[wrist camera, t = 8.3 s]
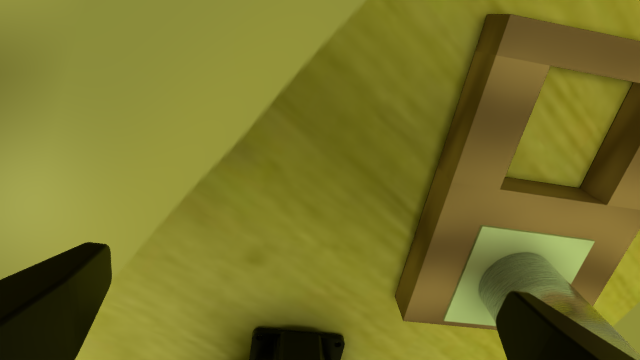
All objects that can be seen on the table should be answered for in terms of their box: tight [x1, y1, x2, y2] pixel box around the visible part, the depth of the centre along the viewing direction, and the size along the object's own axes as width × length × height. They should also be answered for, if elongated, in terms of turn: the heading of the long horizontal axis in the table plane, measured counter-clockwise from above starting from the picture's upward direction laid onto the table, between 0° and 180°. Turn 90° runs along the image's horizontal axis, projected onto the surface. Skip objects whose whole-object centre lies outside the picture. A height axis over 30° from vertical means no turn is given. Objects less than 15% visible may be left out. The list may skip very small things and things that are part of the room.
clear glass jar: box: [478, 253, 640, 360], centre depth 18 cm, size 4×4×9 cm
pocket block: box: [395, 14, 640, 330], centre depth 21 cm, size 18×12×2 cm, turn 170°
